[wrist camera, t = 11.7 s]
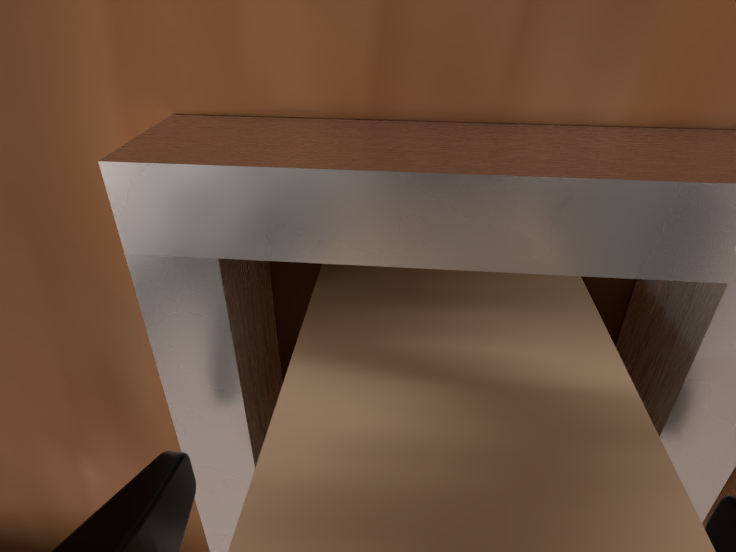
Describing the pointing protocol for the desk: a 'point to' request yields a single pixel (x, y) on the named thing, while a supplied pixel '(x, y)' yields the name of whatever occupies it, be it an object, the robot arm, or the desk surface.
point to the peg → (460, 425)
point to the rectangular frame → (424, 257)
